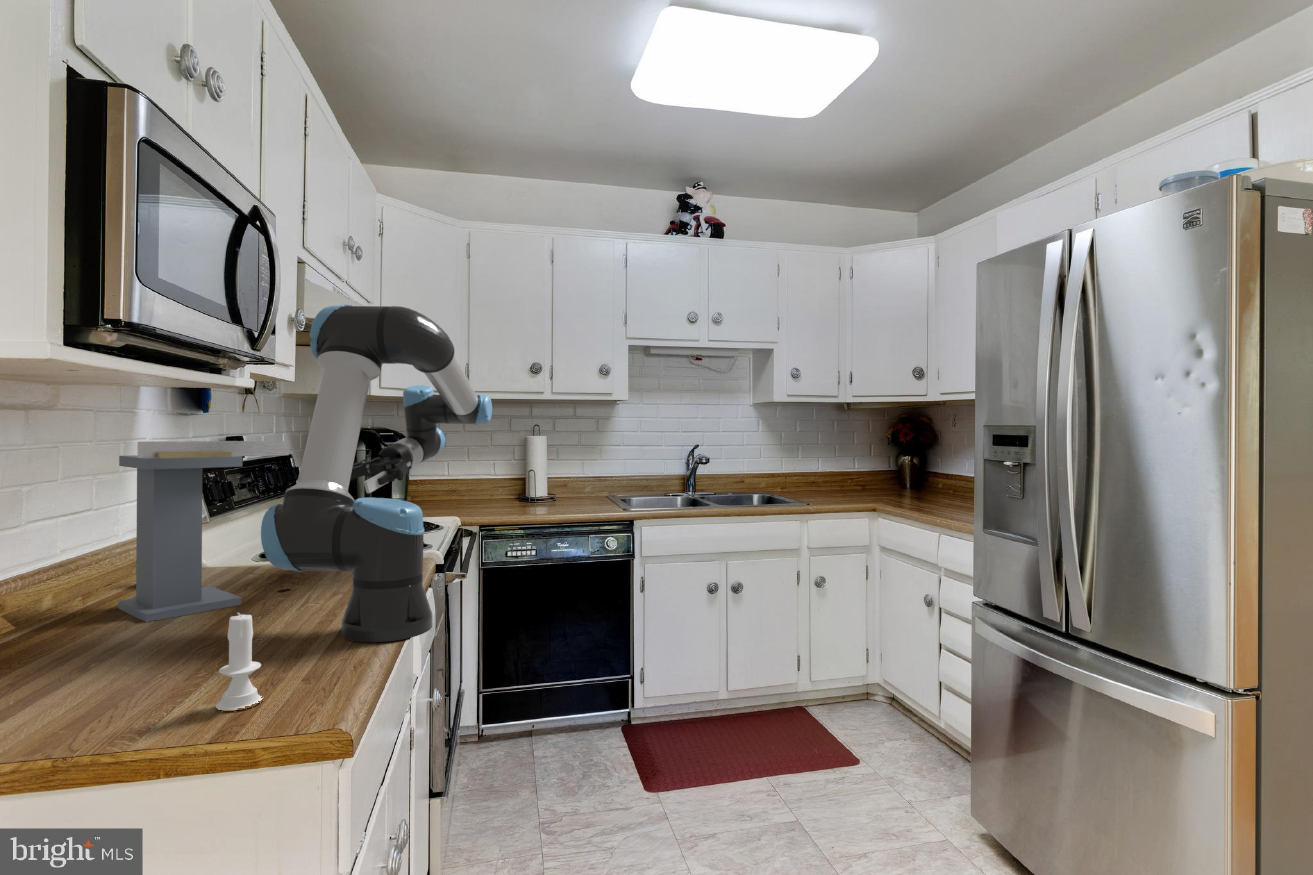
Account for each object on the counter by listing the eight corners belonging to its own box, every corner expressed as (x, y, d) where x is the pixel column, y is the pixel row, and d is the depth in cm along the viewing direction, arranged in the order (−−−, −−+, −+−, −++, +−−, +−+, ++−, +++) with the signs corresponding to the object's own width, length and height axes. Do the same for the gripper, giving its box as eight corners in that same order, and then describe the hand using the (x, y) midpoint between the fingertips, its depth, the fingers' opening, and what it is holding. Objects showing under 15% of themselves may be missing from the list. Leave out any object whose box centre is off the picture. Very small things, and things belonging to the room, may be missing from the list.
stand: (210, 593, 144) (211, 454, 144) (241, 604, 135) (242, 456, 135) (118, 608, 131) (119, 455, 131) (145, 622, 122) (146, 458, 122)
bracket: (216, 455, 137) (216, 450, 137) (231, 456, 133) (231, 451, 133) (146, 456, 128) (146, 451, 128) (159, 458, 123) (159, 452, 123)
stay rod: (282, 454, 146) (282, 440, 146) (288, 455, 144) (289, 441, 144) (137, 457, 125) (137, 441, 125) (143, 458, 123) (143, 441, 123)
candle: (208, 714, 84) (209, 619, 84) (225, 697, 89) (226, 608, 89) (255, 710, 85) (256, 617, 85) (269, 694, 91) (270, 606, 91)
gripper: (446, 469, 165) (392, 502, 145) (362, 472, 172) (300, 504, 153) (439, 440, 163) (384, 470, 143) (355, 444, 170) (291, 473, 151)
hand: (341, 488), depth 148 cm, fingers open, 13 cm apart
